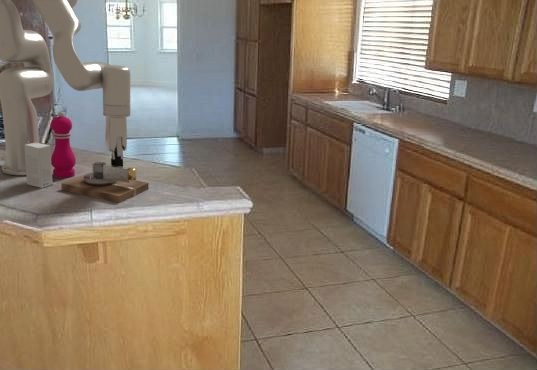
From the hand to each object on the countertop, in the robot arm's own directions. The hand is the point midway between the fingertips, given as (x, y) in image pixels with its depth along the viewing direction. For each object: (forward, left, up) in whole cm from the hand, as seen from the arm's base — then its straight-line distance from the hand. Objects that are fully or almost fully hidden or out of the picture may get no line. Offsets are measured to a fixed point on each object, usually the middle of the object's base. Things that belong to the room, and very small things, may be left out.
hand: (117, 171), depth 153 cm
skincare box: (-20, -10, -5) cm, 23 cm away
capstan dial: (0, -3, -3) cm, 4 cm away
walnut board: (-2, -3, -5) cm, 6 cm away
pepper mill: (-21, +1, -5) cm, 21 cm away
